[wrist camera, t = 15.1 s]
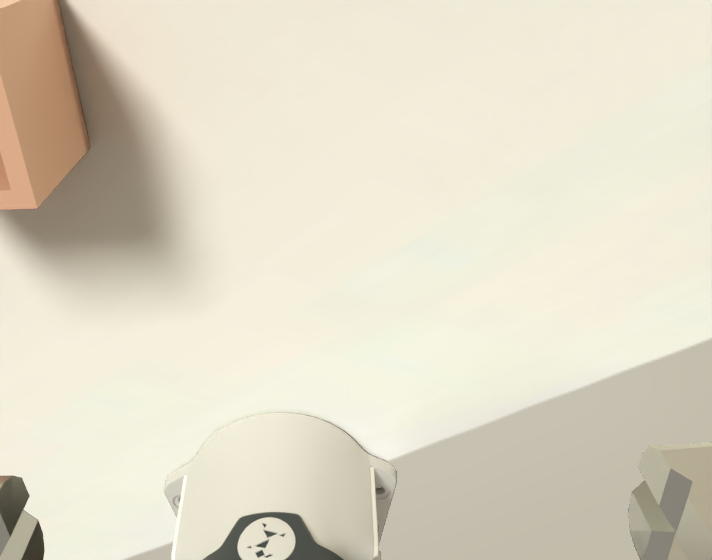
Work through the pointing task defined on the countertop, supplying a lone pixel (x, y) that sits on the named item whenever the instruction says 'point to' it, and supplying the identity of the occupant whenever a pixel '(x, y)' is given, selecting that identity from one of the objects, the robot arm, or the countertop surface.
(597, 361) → the countertop surface
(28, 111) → the planter
